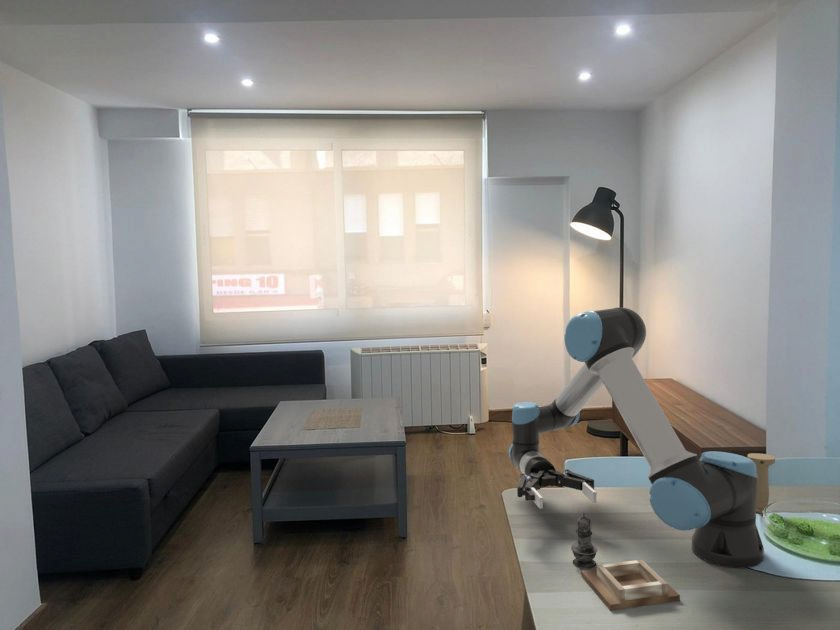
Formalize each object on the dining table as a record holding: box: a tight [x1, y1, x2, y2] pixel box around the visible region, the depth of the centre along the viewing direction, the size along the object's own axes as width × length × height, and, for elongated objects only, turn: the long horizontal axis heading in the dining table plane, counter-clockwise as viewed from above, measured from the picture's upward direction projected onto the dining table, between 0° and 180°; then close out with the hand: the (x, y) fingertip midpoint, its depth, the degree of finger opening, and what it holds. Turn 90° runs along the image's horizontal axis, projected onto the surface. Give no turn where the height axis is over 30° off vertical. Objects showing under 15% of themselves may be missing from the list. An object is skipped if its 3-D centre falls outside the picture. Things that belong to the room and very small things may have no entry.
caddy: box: [580, 559, 681, 612], centre depth 140 cm, size 15×14×4 cm
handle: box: [747, 452, 776, 514], centre depth 174 cm, size 5×6×15 cm
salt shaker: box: [570, 512, 599, 570], centre depth 151 cm, size 6×6×12 cm
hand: (568, 500), depth 160 cm, fingers open, 13 cm apart
